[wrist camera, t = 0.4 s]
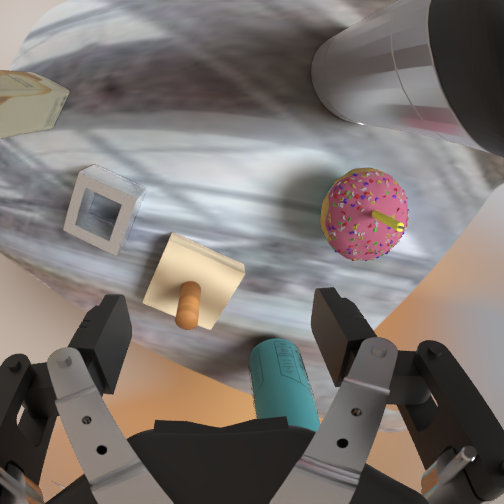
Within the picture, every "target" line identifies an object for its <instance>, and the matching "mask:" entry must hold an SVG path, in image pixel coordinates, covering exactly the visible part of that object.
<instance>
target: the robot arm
mask: <svg viewBox="0 0 504 504" xmlns="http://www.w3.org/2000/svg"><path fill="white" fill-rule="evenodd" d="M311 77H312V83H313V86H314V89H315V92H316V94H317V96H318V97H319V99H320V101H321V102H322V103H323V104H324V106H325V107H326V108H327V109H328V110H329V111H330V112H332V113H333V114H334V115H336V116H337V117H339V118H341V119H343V120H346V121H349V122H352V123H357V124H362V125H364V124H365V125H372V126H377V127H383V128H389V129H395V130H400V131H406V132H411V133H416V134H420V135H425V136H429V137H434V138H438V139H442V140H446V141H450V142H454V143H458V144H462V145H465V146H469V147H472V148H476V149H479V150H482V151H486V152H489V153H492V154H495V155H498V156H501V157H504V0H400V1H398V2H396V3H394V4H392V5H390V6H387V7H386V8H384V9H382V10H380V11H378V12H376V13H374V14H372V15H370V16H368V17H366V18H365V19H363V20H361V21H359V22H357V23H356V24H354V25H352V26H350V27H349V28H347V29H345V30H343V31H341V32H340V33H338V34H337V35H335V36H333V37H332V38H330V39H328V40H327V41H326V42H324V43H323V44H322V45H321V46H320V47H319V49H318V50H317V52H316V53H315V55H314V58H313V61H312V67H311ZM311 328H312V332H313V335H314V337H315V340H316V342H317V344H318V347H319V349H320V351H321V354H322V356H323V359H324V361H325V363H326V366H327V368H328V370H329V373H330V375H331V378H332V380H333V383H334V385H335V387H340V388H339V390H338V392H337V394H336V396H335V398H334V400H333V402H332V404H331V406H330V408H329V410H328V412H327V414H326V415H325V417H324V419H323V421H322V423H321V425H320V426H319V428H318V430H317V432H315V431H313V430H310V429H308V428H304V427H300V426H295V425H288V421H287V416H282V417H273V418H262V419H253V420H249V421H246V422H242V423H238V424H234V425H231V426H227V427H222V428H218V427H212V426H207V425H202V424H197V423H193V422H188V421H165V420H155V424H154V429H151V430H146V431H143V432H140V433H137V434H135V435H133V436H131V437H129V438H128V439H126V438H125V437H124V435H123V433H122V432H121V430H120V429H119V427H118V425H117V424H116V422H115V420H114V419H113V417H112V415H111V413H110V412H109V410H108V408H107V406H106V405H105V403H104V401H103V399H102V396H103V393H104V394H114V390H115V387H116V384H117V380H118V377H119V374H120V371H121V368H122V365H123V361H124V359H125V356H126V353H127V350H128V347H129V344H130V341H131V338H132V325H131V321H130V317H129V313H128V309H127V304H126V300H125V297H124V295H122V294H107V295H105V297H104V298H103V300H102V302H101V303H100V305H99V306H95V307H93V308H92V309H91V310H90V311H88V312H87V314H86V316H85V317H84V319H83V322H81V324H80V326H79V328H78V329H77V331H76V333H75V334H74V336H73V338H72V340H71V342H70V344H69V345H68V347H65V348H61V349H59V350H56V351H55V352H53V353H52V354H51V355H50V356H49V358H48V361H47V362H45V363H38V364H31V363H30V361H29V359H28V357H27V356H26V355H24V354H14V355H11V356H10V357H8V358H7V359H5V361H4V362H3V363H2V365H1V366H0V504H489V503H491V502H492V501H494V500H495V499H497V498H498V497H499V496H500V495H502V494H503V493H504V430H503V428H502V427H501V425H500V423H499V422H498V420H497V419H496V417H495V416H494V414H493V412H492V411H491V409H490V408H489V406H488V405H487V403H486V402H485V400H484V399H483V397H482V396H481V394H480V393H479V391H478V390H477V388H476V387H475V386H474V384H473V383H472V381H471V380H470V378H469V377H468V376H467V374H466V373H465V371H464V370H463V369H462V367H461V366H460V364H459V363H458V362H457V360H456V359H455V358H454V356H453V355H452V354H451V352H450V351H449V350H448V349H447V348H446V346H445V345H443V344H441V343H439V342H437V341H431V340H426V341H423V342H421V343H420V344H419V346H418V348H417V350H416V351H400V350H397V347H396V346H395V345H394V344H393V343H392V342H391V341H389V340H387V339H385V338H381V337H377V335H376V334H375V332H374V331H373V330H372V328H371V327H370V325H369V324H368V322H367V321H366V319H364V316H363V315H362V314H361V312H360V311H359V309H358V308H357V306H356V305H355V304H354V303H353V302H351V301H350V300H348V299H347V298H341V297H340V295H339V294H338V292H337V291H336V289H335V288H334V287H329V288H317V289H316V290H315V294H314V301H313V309H312V316H311ZM431 393H432V395H433V396H434V398H435V400H436V401H437V404H438V407H437V405H436V404H435V402H434V400H433V398H432V396H431ZM386 404H396V405H397V407H398V409H399V411H400V413H401V415H402V418H403V420H404V422H405V424H406V426H407V429H408V431H409V433H410V435H411V437H412V440H413V442H414V444H415V447H416V449H417V451H418V454H419V456H420V458H421V461H422V463H423V465H424V468H425V470H426V471H425V472H424V474H423V476H422V480H421V486H422V489H421V493H422V495H421V494H420V493H418V492H417V491H415V490H413V489H411V488H409V487H407V486H405V485H403V484H402V483H400V482H398V481H396V480H394V479H392V478H391V477H389V476H387V475H385V474H384V473H381V472H380V471H378V470H376V469H375V468H373V467H372V466H370V465H368V464H366V460H367V458H368V455H369V453H370V450H371V447H372V445H373V442H374V439H375V436H376V434H377V431H378V428H379V425H380V422H381V419H382V416H383V413H384V410H385V407H386ZM21 405H22V406H23V407H24V408H25V409H24V411H23V414H22V416H21V419H20V422H19V424H18V426H17V420H16V419H17V414H18V412H19V410H20V407H21ZM57 416H60V418H61V421H62V423H63V426H64V429H65V431H66V433H67V435H68V438H69V441H70V443H71V445H72V448H73V450H74V452H75V454H76V457H77V459H78V461H79V463H80V465H81V467H82V469H83V471H84V474H83V475H82V476H80V477H79V478H78V479H76V480H75V481H74V482H73V483H71V484H70V485H69V486H67V487H66V488H65V489H63V490H62V491H61V492H60V493H58V494H57V495H56V496H54V497H53V498H52V499H50V500H49V501H47V502H46V503H45V502H44V501H43V494H42V491H41V489H40V488H39V481H40V477H41V472H42V468H43V464H44V460H45V456H46V452H47V449H48V445H49V441H50V438H51V434H52V431H53V428H54V425H55V421H56V418H57Z"/></svg>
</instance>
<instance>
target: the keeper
mask: <svg viewBox="0 0 504 504" xmlns="http://www.w3.org/2000/svg"><path fill="white" fill-rule="evenodd" d="M244 275H245V269H244V264H242V263H240V262H238V261H236V260H233V259H231V258H229V257H227V256H224V255H222V254H220V253H218V252H215V251H213V250H211V249H209V248H207V247H204V246H202V245H200V244H198V243H196V242H193V241H191V240H189V239H187V238H185V237H182V236H180V235H178V234H176V233H174V232H172V234H171V236H170V238H169V241H168V243H167V245H166V247H165V250H164V252H163V254H162V256H161V259H160V261H159V263H158V266H157V268H156V270H155V273H154V275H153V277H152V280H151V282H150V285H149V287H148V289H147V292H146V295H145V297H144V300H143V303H144V304H146V305H149V306H151V307H153V308H156V309H158V310H161V311H163V312H166V313H168V314H170V315H173V316H175V317H176V318H175V322H176V324H177V325H178V326H179V327H180V328H182V329H185V330H190V329H193V328H195V327H196V326H197V325H199V326H201V327H204V328H207V329H209V330H211V329H212V327H213V325H214V324H215V322H216V321H217V319H218V317H219V316H220V314H221V312H222V311H223V309H224V308H225V306H226V304H227V303H228V301H229V300H230V298H231V296H232V295H233V293H234V291H235V290H236V288H237V287H238V285H239V283H240V282H241V280H242V278H243V277H244Z"/></svg>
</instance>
